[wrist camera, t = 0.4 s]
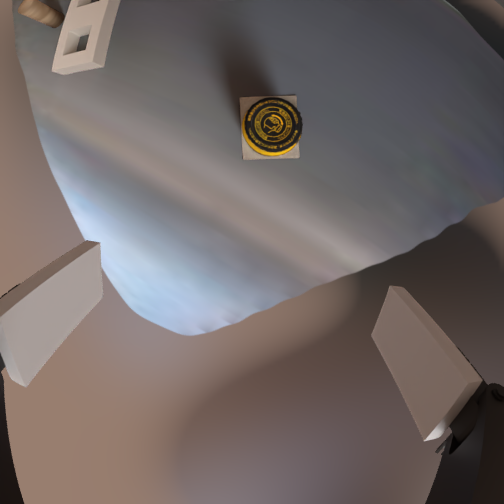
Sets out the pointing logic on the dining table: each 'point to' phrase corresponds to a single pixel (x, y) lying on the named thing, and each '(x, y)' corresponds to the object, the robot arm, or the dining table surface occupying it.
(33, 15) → the dowel
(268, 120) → the condiment
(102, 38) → the hole block
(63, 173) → the dining table surface
